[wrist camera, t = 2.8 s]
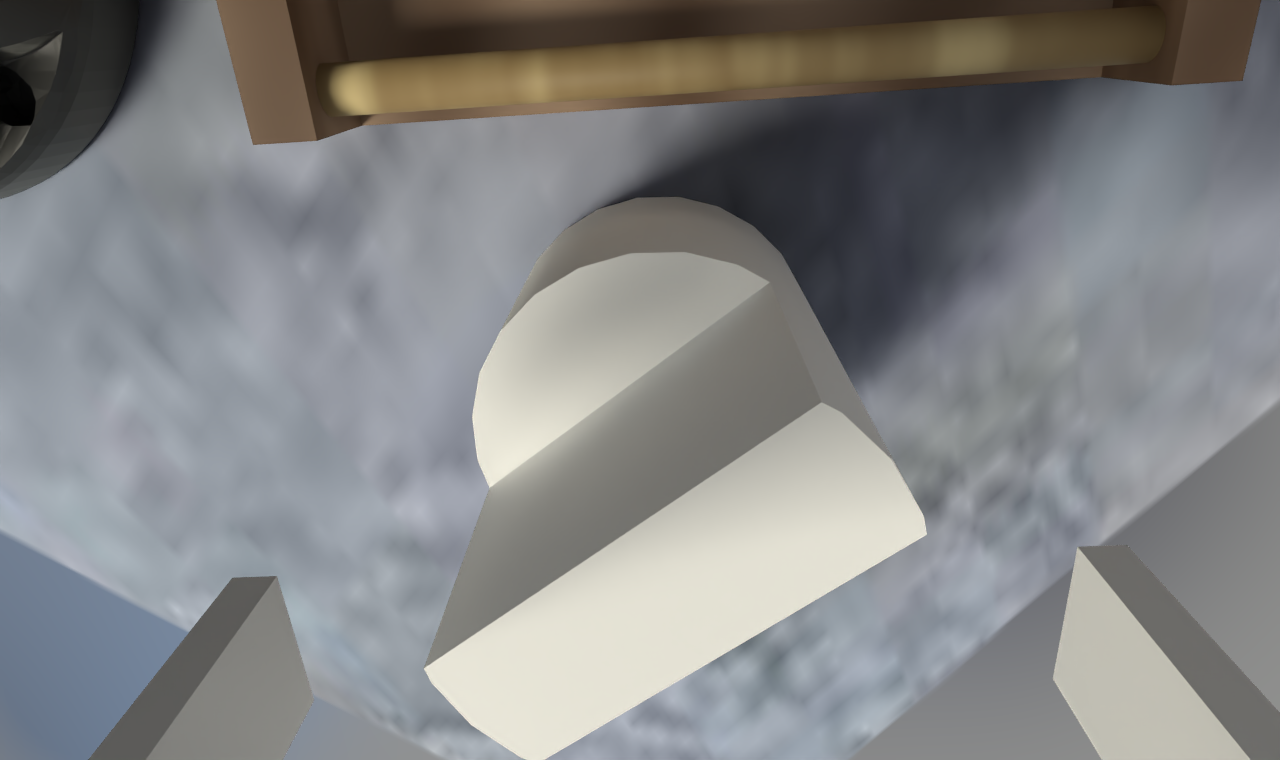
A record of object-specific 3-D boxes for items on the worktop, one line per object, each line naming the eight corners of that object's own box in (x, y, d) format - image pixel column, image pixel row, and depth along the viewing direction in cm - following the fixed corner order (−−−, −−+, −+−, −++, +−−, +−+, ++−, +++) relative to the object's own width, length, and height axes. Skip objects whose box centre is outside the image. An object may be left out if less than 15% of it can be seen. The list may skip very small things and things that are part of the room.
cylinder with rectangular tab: (686, 128, 22) (715, 234, 11) (865, 364, 24) (1033, 640, 13) (453, 321, 24) (283, 568, 13) (639, 516, 27) (626, 854, 16)
